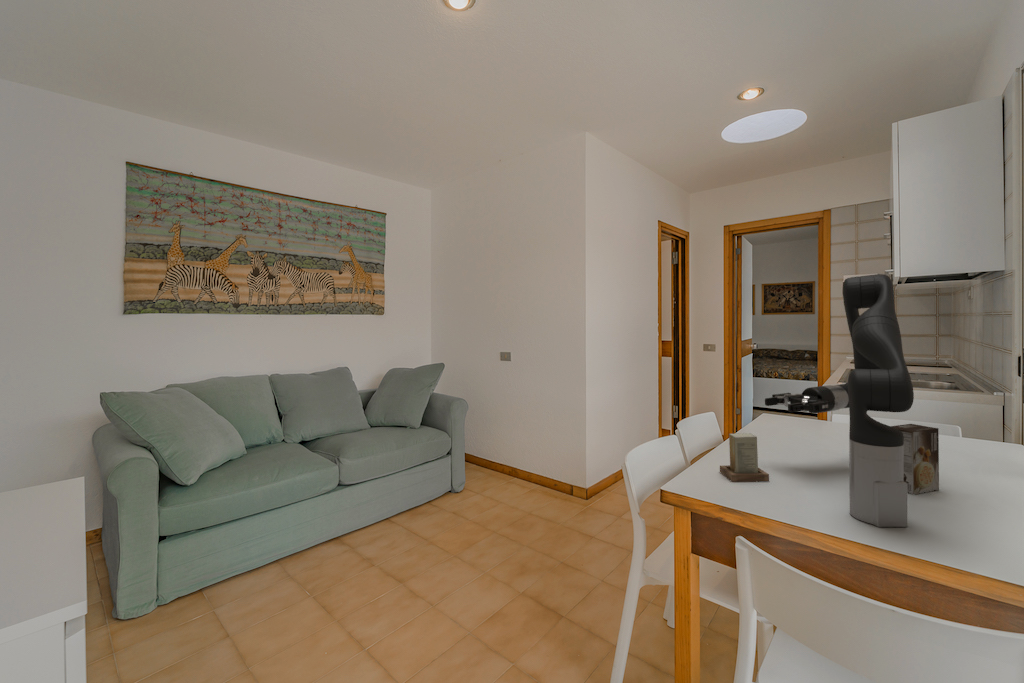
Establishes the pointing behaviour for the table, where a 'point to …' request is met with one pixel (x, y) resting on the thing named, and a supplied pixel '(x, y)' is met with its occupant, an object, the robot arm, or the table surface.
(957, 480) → the table surface
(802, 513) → the table surface
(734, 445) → the skincare box
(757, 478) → the pocket collar
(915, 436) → the coffee box
